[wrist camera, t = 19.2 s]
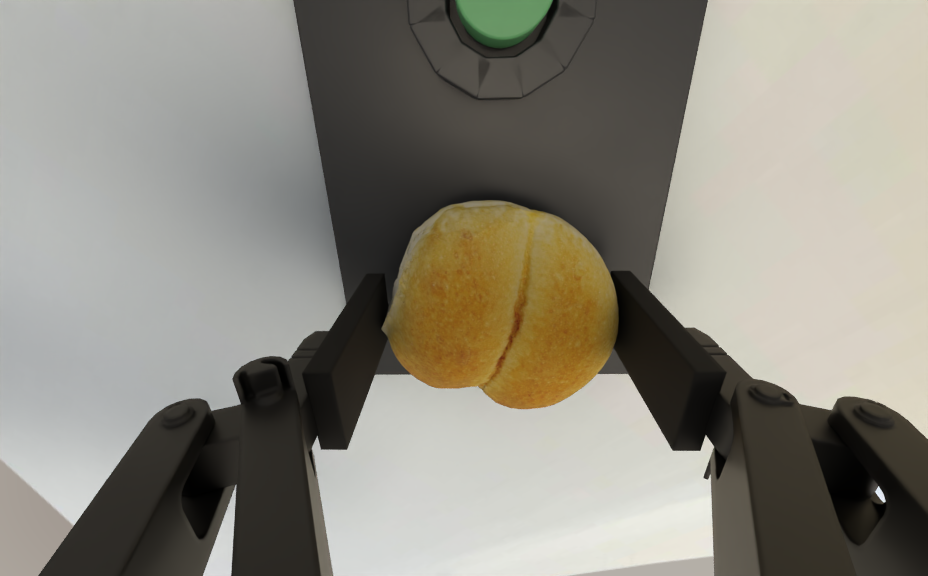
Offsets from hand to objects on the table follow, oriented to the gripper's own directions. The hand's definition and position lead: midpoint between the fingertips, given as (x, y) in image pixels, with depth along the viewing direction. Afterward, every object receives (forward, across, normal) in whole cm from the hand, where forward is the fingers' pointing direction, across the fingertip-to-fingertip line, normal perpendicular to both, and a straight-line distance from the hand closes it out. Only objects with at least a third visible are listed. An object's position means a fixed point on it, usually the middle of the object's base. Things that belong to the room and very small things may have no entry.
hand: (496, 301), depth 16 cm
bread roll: (0, 0, 0) cm, 0 cm away
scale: (+3, 0, +4) cm, 5 cm away
